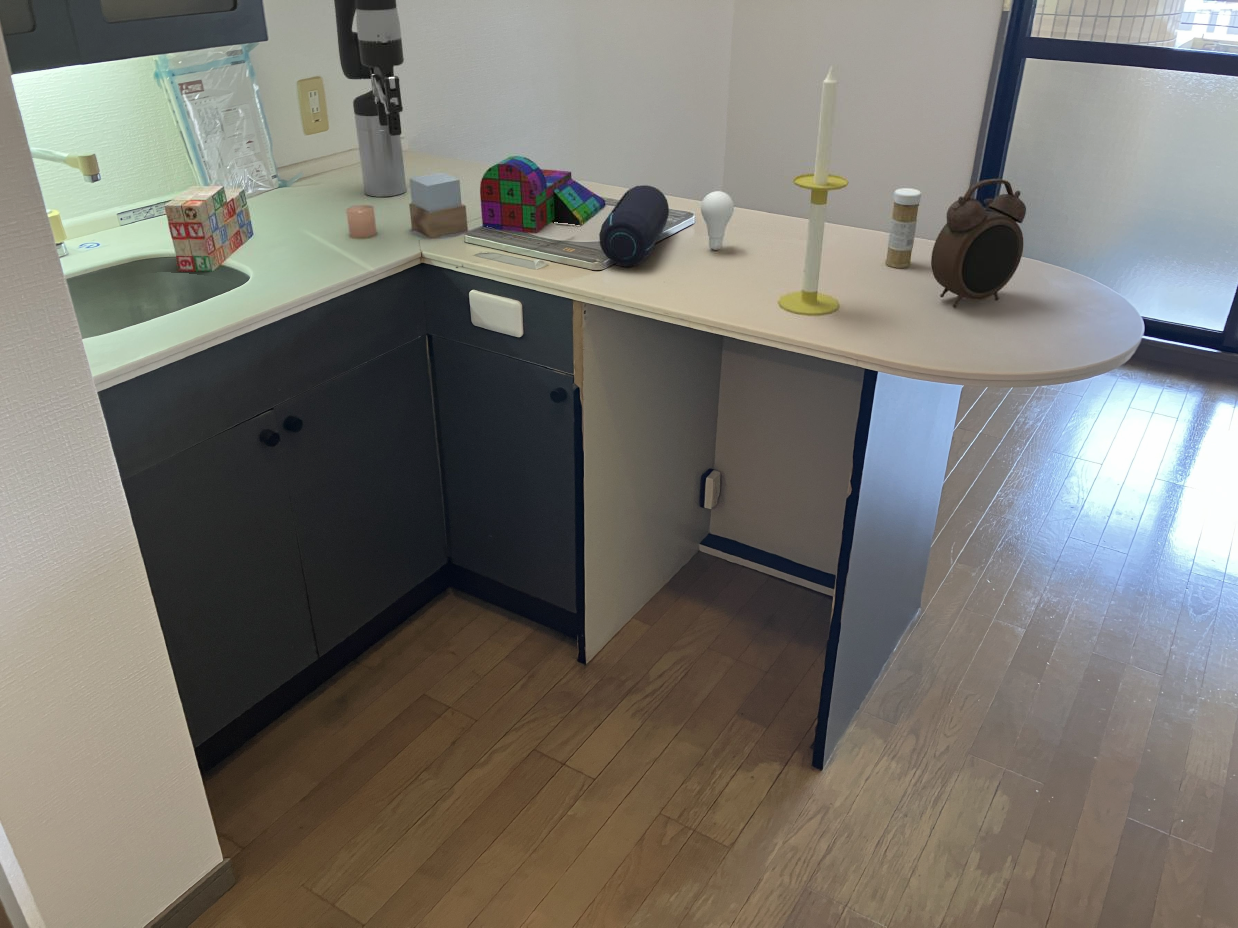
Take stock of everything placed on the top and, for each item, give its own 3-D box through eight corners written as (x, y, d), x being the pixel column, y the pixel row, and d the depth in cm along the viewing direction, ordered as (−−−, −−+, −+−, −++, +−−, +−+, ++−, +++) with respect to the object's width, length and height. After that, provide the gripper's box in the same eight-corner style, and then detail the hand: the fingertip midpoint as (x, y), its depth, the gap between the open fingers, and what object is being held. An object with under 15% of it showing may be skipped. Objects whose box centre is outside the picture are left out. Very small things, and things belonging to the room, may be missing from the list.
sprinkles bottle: (899, 259, 186) (909, 186, 179) (915, 266, 182) (927, 192, 175) (879, 263, 184) (889, 189, 177) (895, 270, 180) (906, 195, 174)
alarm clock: (949, 315, 162) (971, 191, 152) (921, 300, 168) (940, 180, 158) (1020, 301, 167) (1045, 181, 157) (990, 287, 173) (1012, 170, 163)
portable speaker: (622, 228, 203) (622, 178, 197) (671, 231, 201) (672, 181, 196) (595, 270, 181) (594, 216, 176) (649, 274, 180) (650, 219, 175)
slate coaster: (402, 233, 200) (401, 228, 199) (450, 223, 206) (449, 218, 205) (429, 247, 193) (428, 242, 192) (478, 236, 198) (478, 231, 198)
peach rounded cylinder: (345, 238, 197) (341, 208, 194) (370, 233, 200) (366, 203, 197) (357, 245, 194) (353, 214, 191) (382, 240, 197) (378, 209, 194)
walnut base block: (411, 228, 199) (409, 203, 197) (447, 221, 204) (445, 196, 201) (431, 238, 194) (429, 213, 191) (467, 230, 198) (465, 205, 196)
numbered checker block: (562, 241, 196) (559, 168, 189) (483, 233, 201) (477, 161, 193) (605, 206, 216) (604, 139, 209) (532, 200, 221) (529, 133, 214)
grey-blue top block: (412, 204, 197) (409, 178, 194) (443, 197, 200) (441, 172, 198) (429, 212, 192) (427, 186, 189) (461, 205, 196) (459, 179, 193)
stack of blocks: (223, 235, 200) (210, 172, 194) (254, 235, 200) (242, 173, 194) (178, 272, 182) (162, 204, 175) (213, 272, 181) (198, 204, 175)
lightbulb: (736, 247, 192) (739, 189, 186) (725, 256, 187) (728, 198, 182) (705, 243, 194) (708, 186, 189) (694, 252, 189) (696, 194, 184)
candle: (839, 317, 162) (868, 70, 143) (776, 313, 163) (796, 68, 144) (838, 295, 170) (865, 59, 151) (779, 291, 172) (798, 57, 153)
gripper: (350, 32, 183) (362, 124, 191) (366, 43, 171) (378, 140, 180) (392, 29, 185) (401, 120, 193) (409, 40, 174) (419, 136, 182)
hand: (390, 130), depth 187 cm, fingers open, 8 cm apart
